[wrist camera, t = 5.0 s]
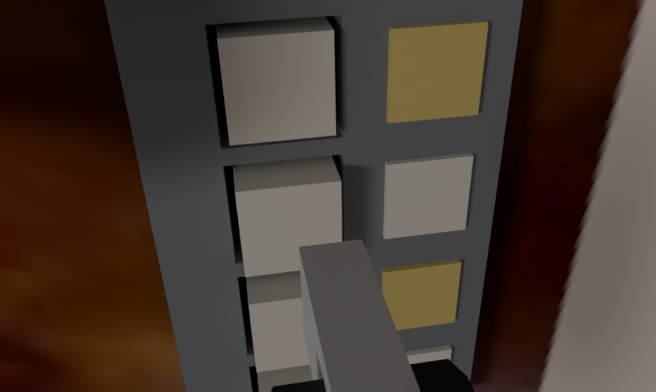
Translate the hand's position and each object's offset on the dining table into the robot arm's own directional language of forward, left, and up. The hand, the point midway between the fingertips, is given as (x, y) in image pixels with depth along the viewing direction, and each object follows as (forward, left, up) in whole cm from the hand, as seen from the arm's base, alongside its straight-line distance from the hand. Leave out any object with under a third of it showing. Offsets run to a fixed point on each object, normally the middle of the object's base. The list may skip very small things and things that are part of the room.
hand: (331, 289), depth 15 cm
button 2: (+5, 0, -13) cm, 14 cm away
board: (+8, +2, -15) cm, 17 cm away
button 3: (+11, 0, -13) cm, 17 cm away
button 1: (-1, 0, -14) cm, 14 cm away
